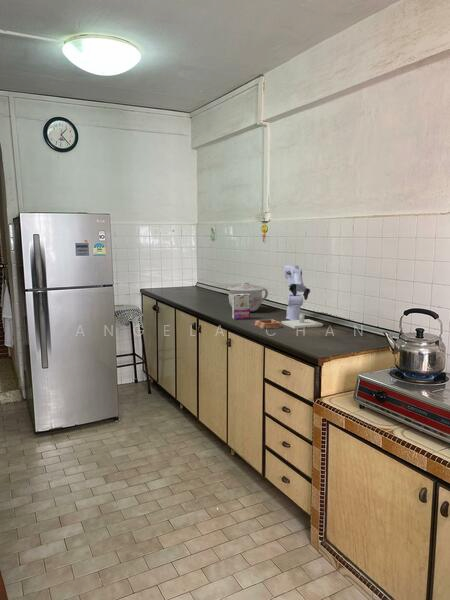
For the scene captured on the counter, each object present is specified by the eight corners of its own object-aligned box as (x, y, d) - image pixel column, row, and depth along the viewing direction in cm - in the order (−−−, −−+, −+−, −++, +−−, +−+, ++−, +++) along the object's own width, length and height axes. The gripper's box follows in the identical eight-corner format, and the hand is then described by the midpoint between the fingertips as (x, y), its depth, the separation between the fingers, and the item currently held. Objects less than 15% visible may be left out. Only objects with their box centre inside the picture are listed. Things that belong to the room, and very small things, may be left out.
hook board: (281, 323, 287) (281, 313, 286) (308, 321, 295) (308, 311, 294) (294, 328, 272) (294, 317, 271) (322, 326, 280) (323, 315, 279)
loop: (254, 325, 281) (254, 320, 281) (272, 323, 286) (272, 319, 285) (263, 329, 270) (263, 324, 270) (281, 327, 275) (281, 322, 274)
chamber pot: (221, 312, 325) (221, 283, 322) (233, 306, 351) (233, 280, 348) (259, 315, 316) (260, 285, 313) (268, 309, 342) (269, 281, 339)
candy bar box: (247, 317, 306) (248, 293, 304) (250, 319, 302) (250, 294, 299) (231, 318, 303) (231, 293, 301) (233, 319, 299) (234, 294, 296)
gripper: (291, 274, 282) (293, 288, 272) (311, 281, 286) (314, 296, 275) (285, 282, 286) (287, 296, 276) (305, 289, 290) (308, 304, 280)
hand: (300, 296), depth 276 cm, fingers open, 7 cm apart
